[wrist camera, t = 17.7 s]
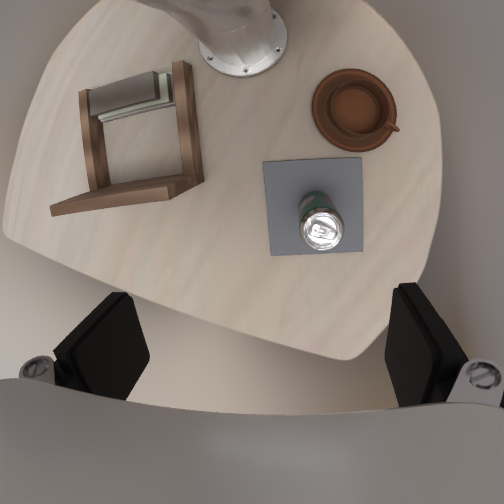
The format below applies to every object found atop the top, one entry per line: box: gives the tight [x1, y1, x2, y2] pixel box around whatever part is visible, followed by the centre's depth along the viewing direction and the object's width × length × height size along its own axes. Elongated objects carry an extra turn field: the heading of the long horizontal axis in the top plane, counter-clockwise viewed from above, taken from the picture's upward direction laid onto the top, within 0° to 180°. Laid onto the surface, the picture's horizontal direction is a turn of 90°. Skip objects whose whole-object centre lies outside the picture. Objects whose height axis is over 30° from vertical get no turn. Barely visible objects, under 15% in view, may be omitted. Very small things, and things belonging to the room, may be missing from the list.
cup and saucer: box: [312, 69, 400, 152], centre depth 37 cm, size 12×12×6 cm
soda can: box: [298, 191, 344, 250], centre depth 39 cm, size 5×5×12 cm
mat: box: [263, 158, 363, 256], centre depth 45 cm, size 14×14×1 cm
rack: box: [50, 60, 204, 217], centre depth 38 cm, size 18×18×14 cm
